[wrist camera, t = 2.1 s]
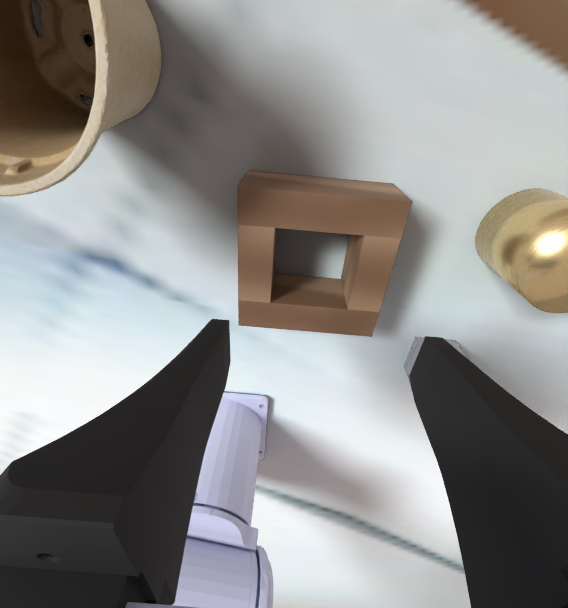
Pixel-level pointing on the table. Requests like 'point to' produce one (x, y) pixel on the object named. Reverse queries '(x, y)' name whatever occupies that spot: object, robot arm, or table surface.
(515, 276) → the round bit
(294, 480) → the table surface
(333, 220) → the block
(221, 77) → the table surface
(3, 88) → the flower pot
